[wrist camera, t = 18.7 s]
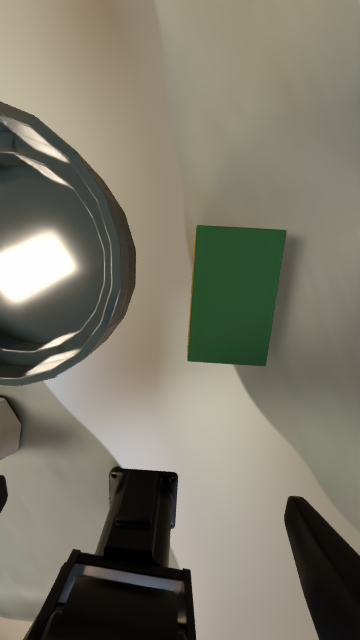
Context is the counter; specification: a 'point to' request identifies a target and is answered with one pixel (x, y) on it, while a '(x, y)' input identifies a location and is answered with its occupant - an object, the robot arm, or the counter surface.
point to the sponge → (233, 294)
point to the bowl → (56, 253)
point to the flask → (8, 430)
